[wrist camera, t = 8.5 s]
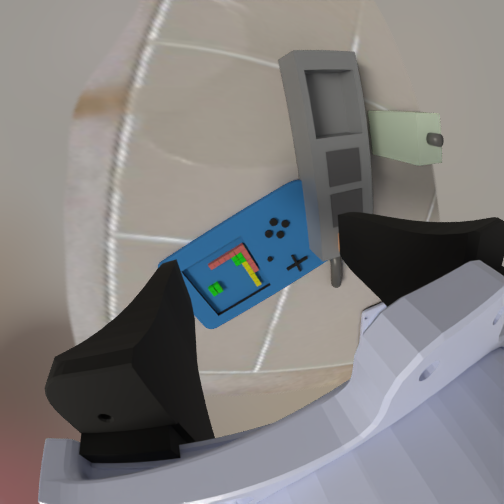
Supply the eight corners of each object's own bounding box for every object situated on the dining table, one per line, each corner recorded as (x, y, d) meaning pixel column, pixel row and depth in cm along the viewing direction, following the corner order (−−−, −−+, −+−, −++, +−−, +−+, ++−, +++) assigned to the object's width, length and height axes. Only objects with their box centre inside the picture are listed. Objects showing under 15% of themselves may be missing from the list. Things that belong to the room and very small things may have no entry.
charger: (395, 151, 22) (451, 165, 16) (372, 154, 22) (428, 168, 16) (391, 110, 21) (448, 114, 15) (367, 111, 20) (425, 113, 14)
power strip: (354, 276, 27) (374, 294, 24) (311, 292, 27) (328, 313, 23) (334, 58, 18) (359, 50, 15) (278, 59, 17) (296, 48, 14)
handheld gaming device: (348, 249, 25) (210, 334, 25) (342, 244, 26) (208, 326, 26) (316, 170, 21) (153, 270, 21) (310, 168, 22) (154, 263, 22)
